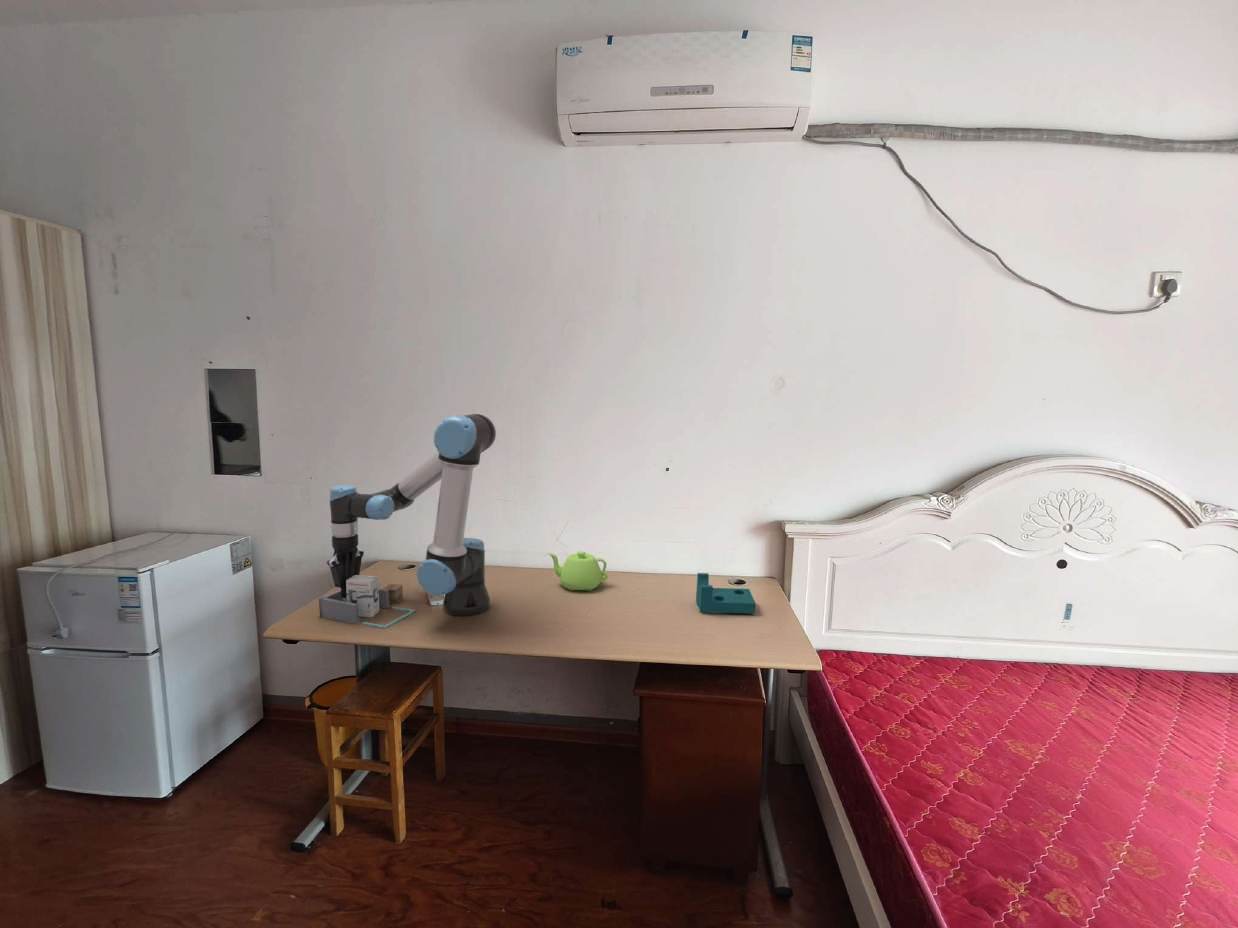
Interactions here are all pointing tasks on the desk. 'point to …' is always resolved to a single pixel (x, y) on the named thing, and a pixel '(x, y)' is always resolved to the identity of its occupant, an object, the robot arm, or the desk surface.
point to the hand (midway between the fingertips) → (348, 605)
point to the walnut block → (394, 593)
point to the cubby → (346, 607)
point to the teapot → (580, 571)
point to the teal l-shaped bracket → (722, 598)
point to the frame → (392, 621)
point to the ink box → (364, 594)
